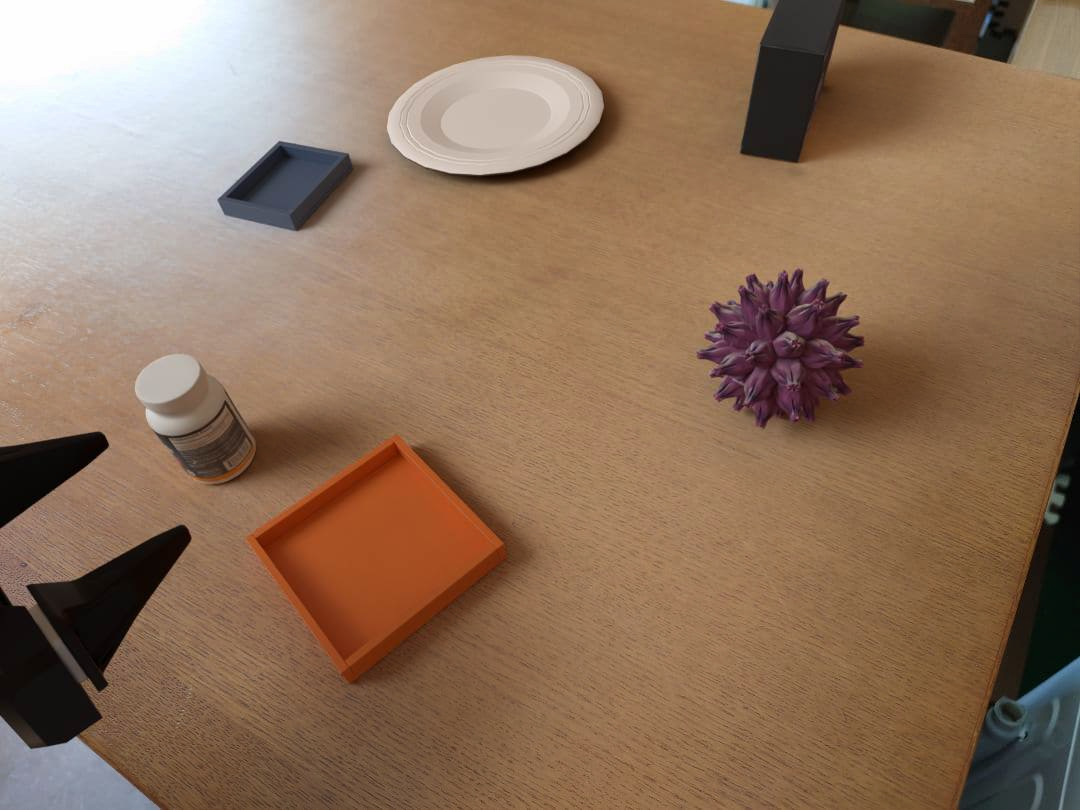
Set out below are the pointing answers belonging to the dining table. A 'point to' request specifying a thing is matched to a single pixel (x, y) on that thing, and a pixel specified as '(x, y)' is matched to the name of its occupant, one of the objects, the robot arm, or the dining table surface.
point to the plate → (495, 115)
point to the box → (790, 76)
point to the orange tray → (375, 554)
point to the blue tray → (286, 185)
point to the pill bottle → (195, 419)
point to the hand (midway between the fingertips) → (144, 482)
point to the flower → (781, 348)
